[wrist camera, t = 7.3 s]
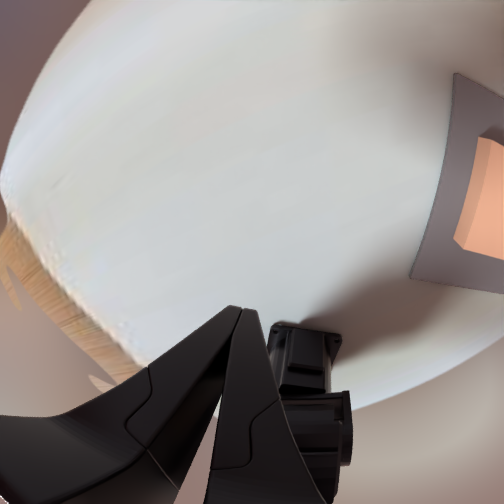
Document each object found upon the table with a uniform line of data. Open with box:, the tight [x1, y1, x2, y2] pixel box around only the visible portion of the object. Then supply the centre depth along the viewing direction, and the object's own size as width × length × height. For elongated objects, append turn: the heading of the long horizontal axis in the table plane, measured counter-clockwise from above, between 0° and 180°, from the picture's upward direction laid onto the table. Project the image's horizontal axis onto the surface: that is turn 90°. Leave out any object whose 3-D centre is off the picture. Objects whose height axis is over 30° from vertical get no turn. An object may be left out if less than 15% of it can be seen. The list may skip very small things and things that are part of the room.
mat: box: [409, 73, 504, 294], centre depth 14 cm, size 16×12×1 cm
